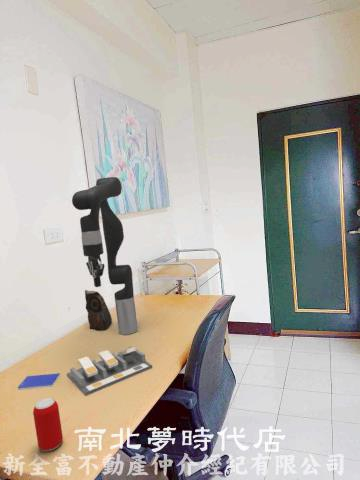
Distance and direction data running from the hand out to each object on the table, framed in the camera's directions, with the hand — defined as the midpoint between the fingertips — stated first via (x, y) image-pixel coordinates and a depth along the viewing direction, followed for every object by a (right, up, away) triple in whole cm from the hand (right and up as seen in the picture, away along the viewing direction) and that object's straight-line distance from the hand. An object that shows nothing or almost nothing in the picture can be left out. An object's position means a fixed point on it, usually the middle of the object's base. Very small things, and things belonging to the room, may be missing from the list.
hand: (97, 286), depth 135 cm
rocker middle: (+5, -27, -6) cm, 28 cm away
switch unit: (+6, -31, -5) cm, 32 cm away
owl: (-9, -28, +46) cm, 55 cm away
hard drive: (-20, -35, -8) cm, 41 cm away
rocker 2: (+12, -26, -1) cm, 28 cm away
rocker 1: (-1, -28, -11) cm, 30 cm away
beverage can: (-2, -36, -44) cm, 57 cm away
